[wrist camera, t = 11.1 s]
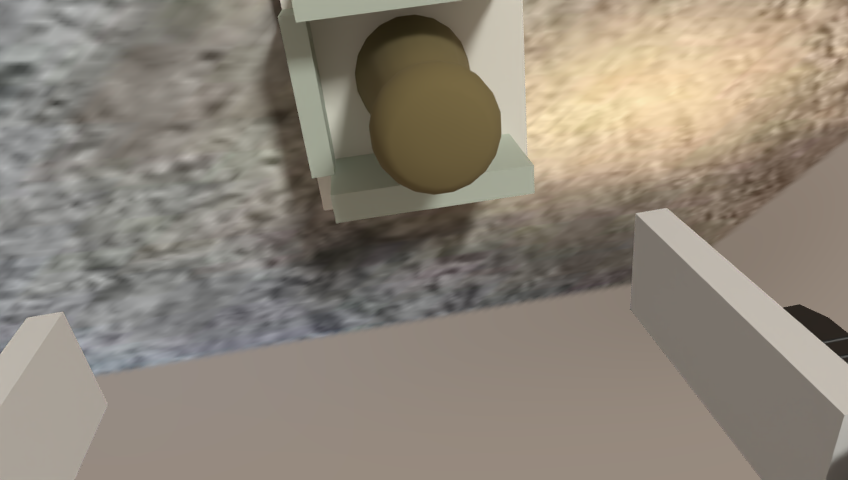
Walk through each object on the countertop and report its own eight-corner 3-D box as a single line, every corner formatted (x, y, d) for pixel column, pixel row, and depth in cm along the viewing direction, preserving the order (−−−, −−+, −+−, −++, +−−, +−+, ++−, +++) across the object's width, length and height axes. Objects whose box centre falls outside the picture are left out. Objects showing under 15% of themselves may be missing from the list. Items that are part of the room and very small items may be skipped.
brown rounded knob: (489, 89, 33) (549, 161, 23) (397, 151, 34) (417, 244, 25) (429, -11, 30) (469, 24, 21) (331, 59, 31) (325, 123, 22)
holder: (324, 203, 36) (321, 252, 31) (270, -59, 30) (254, -53, 24) (523, 173, 37) (554, 216, 32) (514, -90, 30) (551, -91, 25)
